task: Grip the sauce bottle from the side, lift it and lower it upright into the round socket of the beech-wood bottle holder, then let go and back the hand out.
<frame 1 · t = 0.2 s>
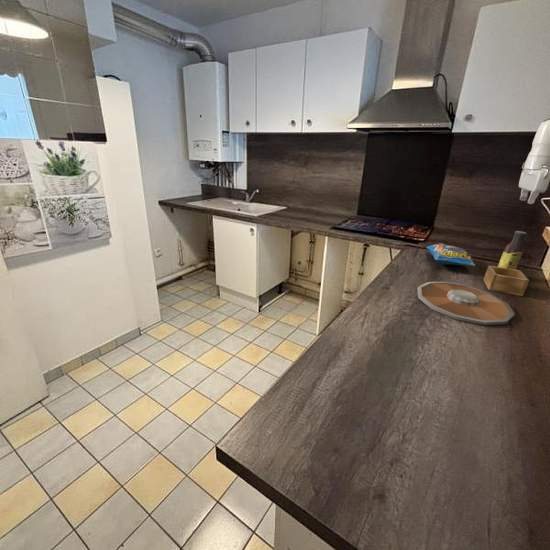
hand: (526, 202, 115), 32 cm above the worktop, tool pointing down, fingers open, 8 cm apart
packet: (447, 263, 141), on the worktop
sauce bottle: (503, 275, 130), on the worktop
shield: (461, 302, 104), on the worktop
bottle holder: (501, 287, 117), on the worktop
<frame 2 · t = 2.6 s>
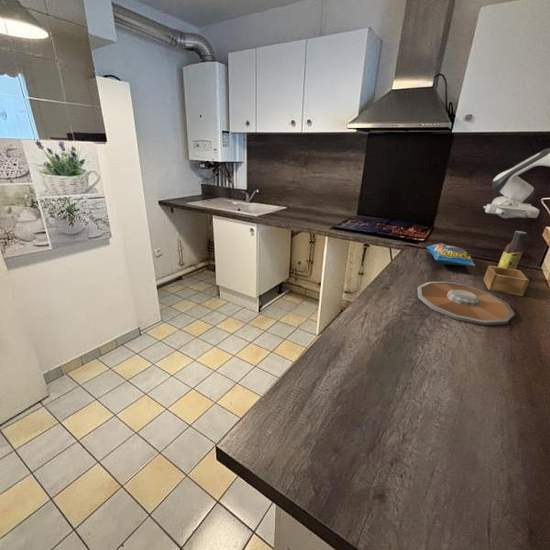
hand: (515, 213, 131), 25 cm above the worktop, tool horizontal, fingers open, 8 cm apart
nothing on the worktop moved.
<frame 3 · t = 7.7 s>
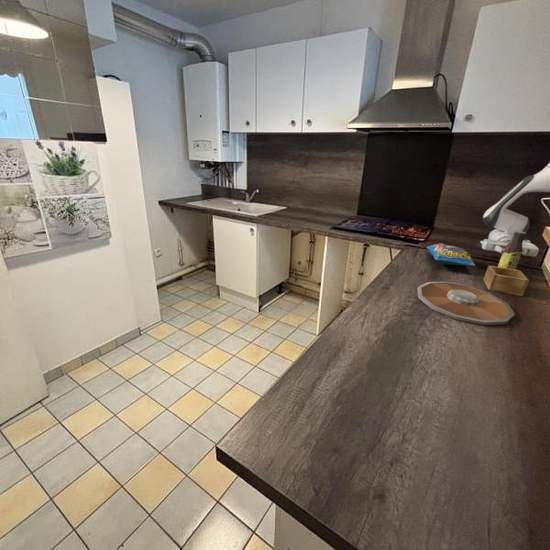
hand: (513, 252, 124), 11 cm above the worktop, tool horizontal, fingers closed on sauce bottle, 6 cm apart
sauce bottle: (503, 275, 130), on the worktop, touching gripper
everything else where it was.
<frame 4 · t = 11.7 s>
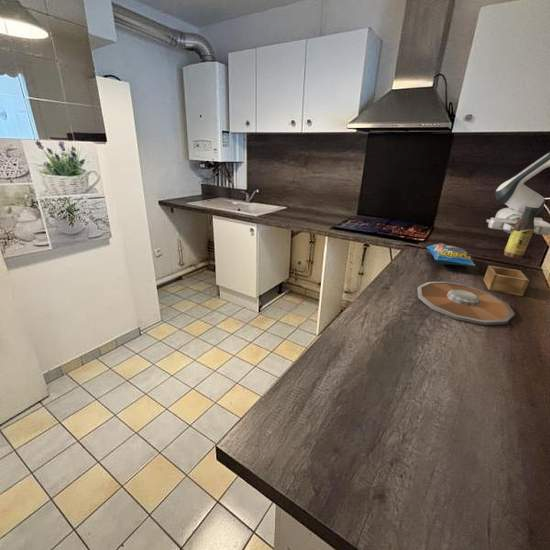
hand: (524, 230, 112), 23 cm above the worktop, tool horizontal, fingers closed on sauce bottle, 6 cm apart
sauce bottle: (512, 256, 117), point 12 cm above the worktop, touching gripper
everything else where it was.
when the fingers open (12 cm above the worktop, at t = 16.1 s): sauce bottle stays where it is, resting on bottle holder.
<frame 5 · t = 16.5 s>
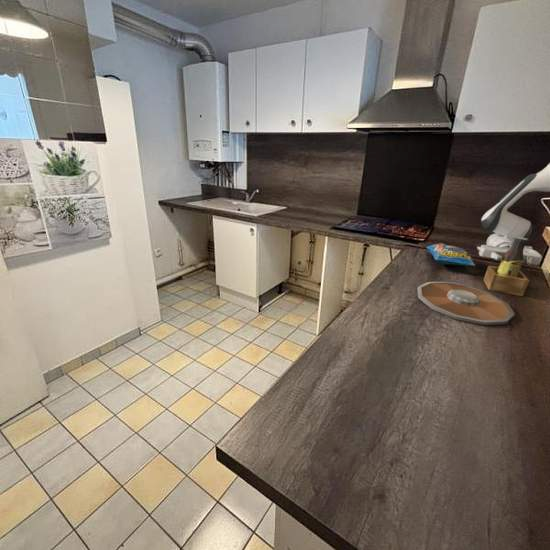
hand: (513, 260, 112), 12 cm above the worktop, tool horizontal, fingers open, 8 cm apart
sauce bottle: (501, 285, 117), point 1 cm above the worktop, touching bottle holder
everything else where it was.
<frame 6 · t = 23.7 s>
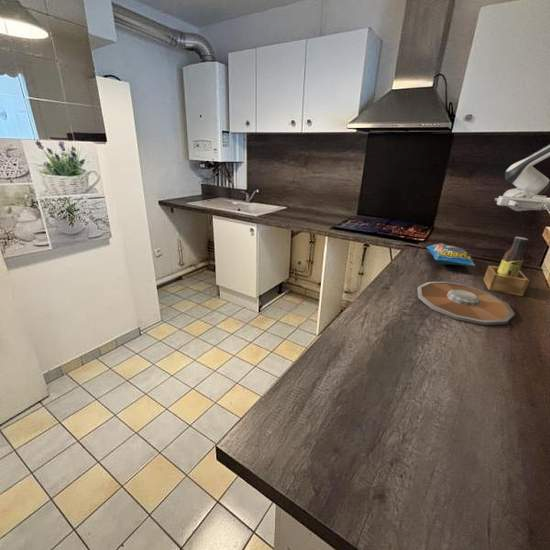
hand: (530, 205, 123), 30 cm above the worktop, tool horizontal, fingers open, 8 cm apart
nothing on the worktop moved.
at the end: sauce bottle 0.1 cm off-centre in the bottle holder, point 0.6 cm above the bottle holder's base; sauce bottle tilted 0°; the gripper is holding nothing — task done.
